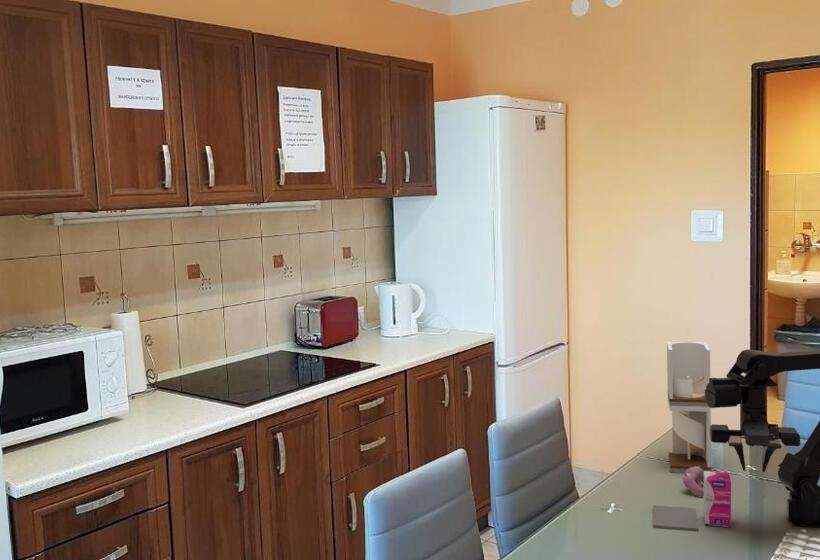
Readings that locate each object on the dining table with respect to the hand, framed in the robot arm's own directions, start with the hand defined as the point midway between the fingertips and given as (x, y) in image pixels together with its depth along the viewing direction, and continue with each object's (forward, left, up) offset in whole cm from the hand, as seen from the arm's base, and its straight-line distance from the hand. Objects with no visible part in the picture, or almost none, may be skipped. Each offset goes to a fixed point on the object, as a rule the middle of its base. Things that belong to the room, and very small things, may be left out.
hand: (753, 470), depth 179 cm
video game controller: (+11, -20, -13) cm, 26 cm away
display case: (+12, -38, -13) cm, 42 cm away
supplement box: (+8, 0, -13) cm, 15 cm away
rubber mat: (+17, 0, -13) cm, 22 cm away
